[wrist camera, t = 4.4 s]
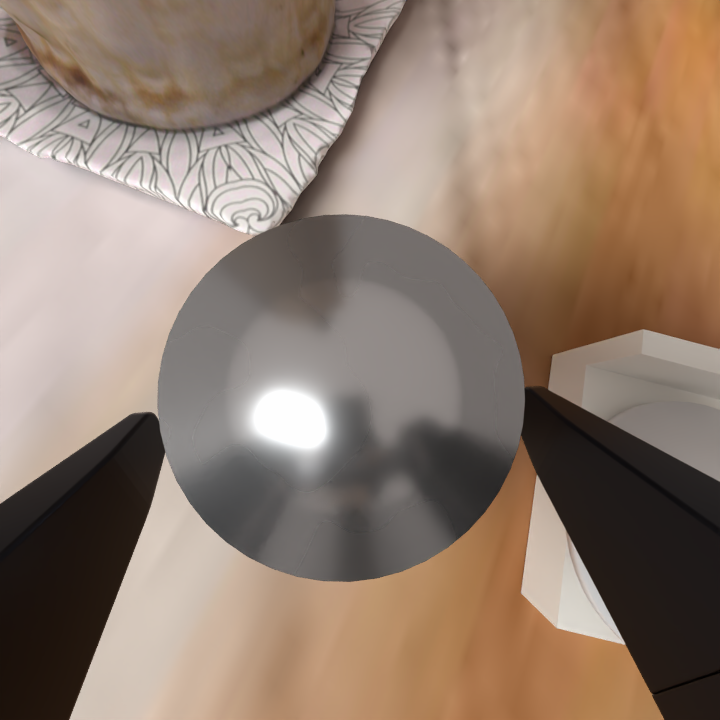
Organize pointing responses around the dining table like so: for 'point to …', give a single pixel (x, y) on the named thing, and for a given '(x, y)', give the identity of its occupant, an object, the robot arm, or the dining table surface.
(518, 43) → the dining table surface
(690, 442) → the scale
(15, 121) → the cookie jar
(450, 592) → the dining table surface
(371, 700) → the dining table surface
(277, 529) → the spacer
